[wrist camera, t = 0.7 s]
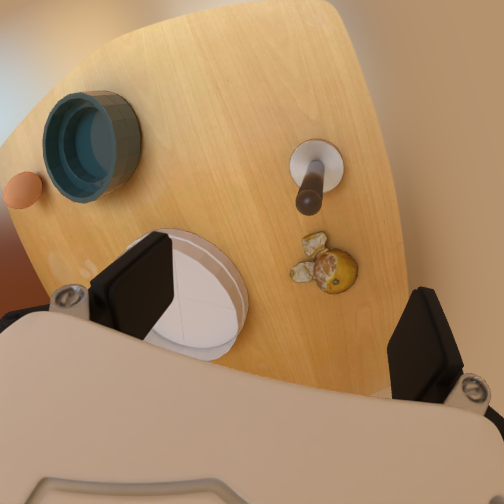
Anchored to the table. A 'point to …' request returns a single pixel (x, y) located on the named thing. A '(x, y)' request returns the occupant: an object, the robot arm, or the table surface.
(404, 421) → the robot arm
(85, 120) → the bowl
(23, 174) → the egg
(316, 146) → the upright rod
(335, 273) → the fruit
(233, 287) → the dish
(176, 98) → the table surface
